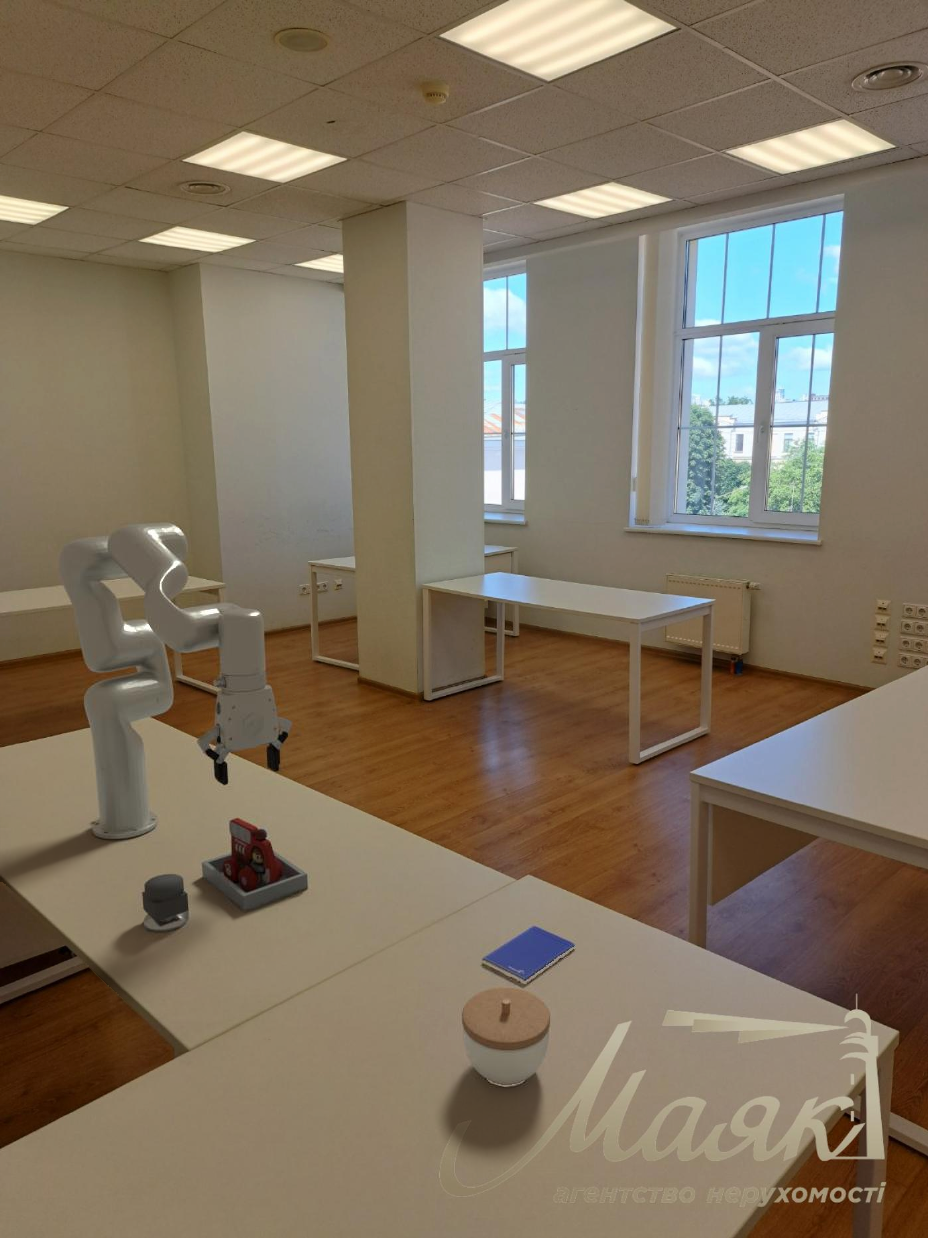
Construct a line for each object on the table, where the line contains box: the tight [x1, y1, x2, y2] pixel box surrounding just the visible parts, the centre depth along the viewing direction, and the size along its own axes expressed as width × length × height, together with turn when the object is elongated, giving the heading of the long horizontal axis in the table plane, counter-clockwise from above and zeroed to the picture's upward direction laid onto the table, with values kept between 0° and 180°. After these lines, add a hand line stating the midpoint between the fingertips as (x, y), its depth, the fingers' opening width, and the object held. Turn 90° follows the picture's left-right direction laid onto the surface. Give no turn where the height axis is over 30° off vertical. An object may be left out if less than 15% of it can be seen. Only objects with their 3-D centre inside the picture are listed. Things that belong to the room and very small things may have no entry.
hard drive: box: [481, 925, 576, 981], centre depth 130 cm, size 2×8×12 cm
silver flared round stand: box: [143, 911, 190, 933], centre depth 140 cm, size 7×7×5 cm
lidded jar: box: [461, 987, 551, 1085], centre depth 104 cm, size 11×11×9 cm
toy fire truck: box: [222, 817, 282, 892], centre depth 152 cm, size 7×12×10 cm, turn 47°
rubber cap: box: [141, 873, 189, 922], centre depth 139 cm, size 6×6×5 cm
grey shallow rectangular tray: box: [201, 850, 309, 913], centre depth 153 cm, size 17×12×3 cm
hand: (248, 776), depth 149 cm, fingers open, 9 cm apart
